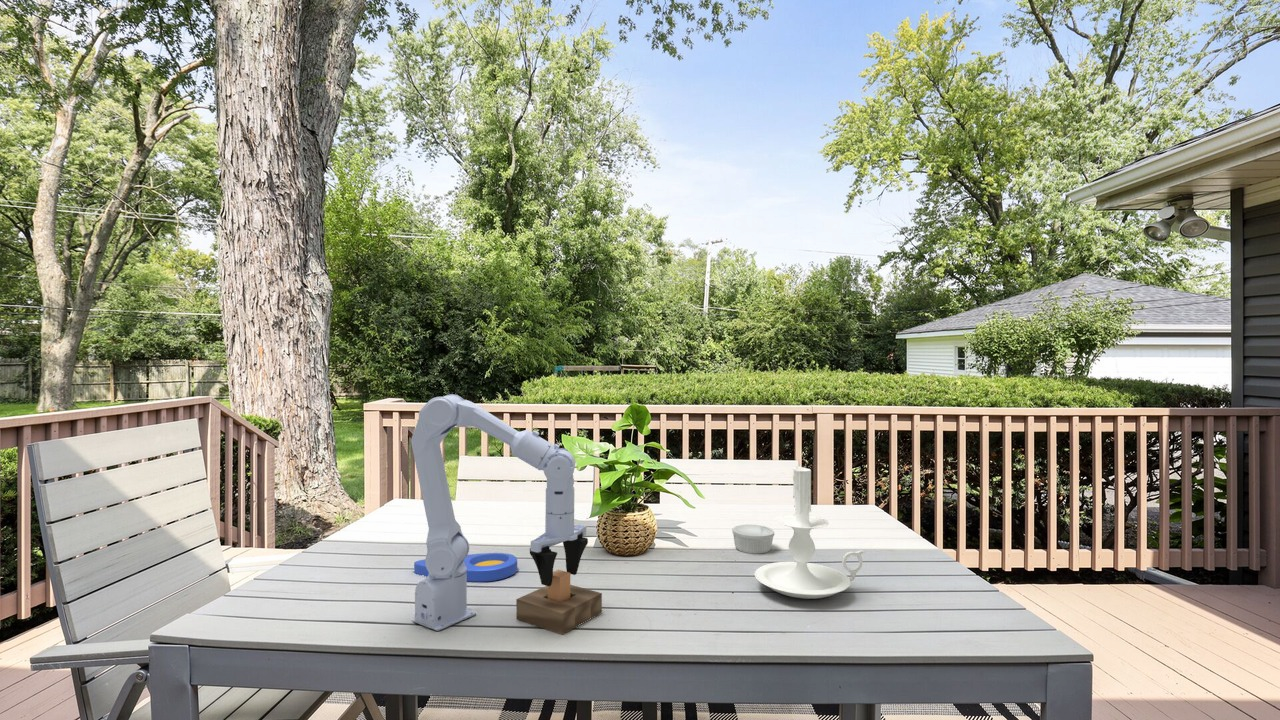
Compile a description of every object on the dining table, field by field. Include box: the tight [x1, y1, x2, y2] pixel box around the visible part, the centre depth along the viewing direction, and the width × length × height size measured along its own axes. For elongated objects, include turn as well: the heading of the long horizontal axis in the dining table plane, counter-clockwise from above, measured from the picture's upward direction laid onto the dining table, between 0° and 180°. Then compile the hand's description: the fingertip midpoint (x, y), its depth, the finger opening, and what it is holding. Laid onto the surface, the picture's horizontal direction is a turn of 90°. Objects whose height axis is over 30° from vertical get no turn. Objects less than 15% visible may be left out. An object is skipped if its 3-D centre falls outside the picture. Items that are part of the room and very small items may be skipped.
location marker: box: [413, 552, 518, 583], centre depth 148 cm, size 13×3×25 cm
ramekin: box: [731, 524, 775, 555], centre depth 167 cm, size 11×11×5 cm
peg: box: [548, 569, 571, 603], centre depth 122 cm, size 3×3×8 cm
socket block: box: [515, 584, 603, 635], centre depth 122 cm, size 12×12×4 cm
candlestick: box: [754, 465, 865, 600], centre depth 136 cm, size 21×25×28 cm
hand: (559, 579), depth 122 cm, fingers open, 7 cm apart
